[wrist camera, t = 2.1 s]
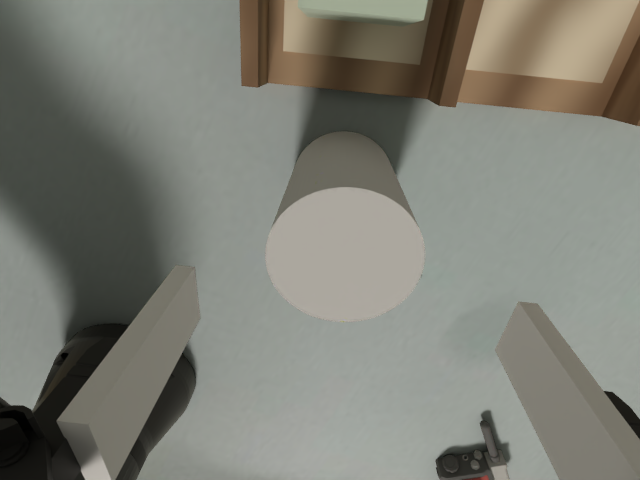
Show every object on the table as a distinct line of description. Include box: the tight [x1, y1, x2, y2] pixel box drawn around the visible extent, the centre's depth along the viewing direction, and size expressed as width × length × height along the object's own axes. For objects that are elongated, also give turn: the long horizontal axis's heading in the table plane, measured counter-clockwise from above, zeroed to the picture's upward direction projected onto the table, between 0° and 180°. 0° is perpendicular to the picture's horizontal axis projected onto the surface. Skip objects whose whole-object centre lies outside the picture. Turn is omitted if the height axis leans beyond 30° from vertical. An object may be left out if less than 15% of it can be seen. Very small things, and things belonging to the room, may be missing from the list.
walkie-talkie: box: [436, 421, 509, 480], centre depth 45 cm, size 9×4×20 cm
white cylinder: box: [265, 131, 425, 322], centre depth 23 cm, size 8×8×12 cm
